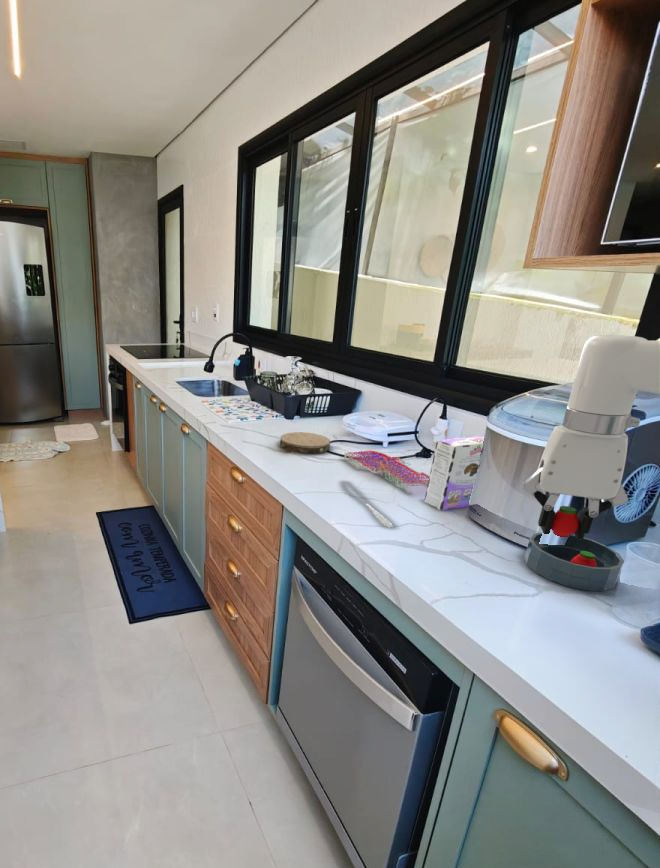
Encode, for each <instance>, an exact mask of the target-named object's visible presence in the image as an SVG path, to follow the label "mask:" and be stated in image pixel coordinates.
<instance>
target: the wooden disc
mask: <svg viewBox="0 0 660 868" xmlns="http://www.w3.org/2000/svg"><path fill="white" fill-rule="evenodd" d="M279 443H280V444H279V448H280V449H281V450H283V451H285V452H287V453H290V454H292V453H297V454H305V455H318V454H324V453H326V452H328V451H329V450H330V446H331V445H330V444H331V440H330V438H328V437H327V436H324V435H323V434H318V433H313V432H303V431H297V432H295V431H293V432H287V433H283V434H282V435H280V439H279Z"/></svg>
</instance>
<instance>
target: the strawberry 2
mask: <svg viewBox="0 0 660 868" xmlns="http://www.w3.org/2000/svg"><path fill="white" fill-rule="evenodd" d="M594 557H595V555H594V554H593V553H591V552H588V551H580V554H578V555H577V556H575V557H574V558H573V559H572V560H571V563H574V564H579V565H584V566H589V567H597V564H596V562H595V559H594Z"/></svg>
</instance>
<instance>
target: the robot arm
mask: <svg viewBox="0 0 660 868" xmlns="http://www.w3.org/2000/svg"><path fill="white" fill-rule="evenodd" d="M638 391H641V392H648V393H652V394H657V395H660V337H659V338H658V339H656V340H648V339H647V338H645V337H642V336H635V335H622V334H620V335H619V334H599V335H593V336H591V337H590V338H588V339H587V340H586V341H585V342H584V345H583V348H582V350H581V354H580V358H579V362H578V365H577V368H576V373H575V377H574V380H573V383H572V388H571V391H570V394H569V398H568V402H567V404H566V405H567V406H566V409H565V413H564V416H563V420H562V424H561V425H555V426H554V428H553V429H552V431H551V433H550V436H549V438H548V440H547V443H546V444H545V447H544V450H543V452H542V455H541V458H540V461H539V464H538V466H537V469H536V471H535V472H533V474H531V476H529V477H528V478H527V479H526V480H524V481H523V482H522V484H521V487H522V489H523V490H525V491H526V492H527V493H528V494H530V495H531V496H533V497H534V498H535V500H536V501H537V502H538V503H539V504H540V505H541V506H542V507H541V510H540V514H539V517H538V521H537V524H538V527H540V528H541V532H543V533H544V534H549V533H550V532H551V531H552V530H551V527H552V523H553V520H554V516H555V513H556V512H555V505H556V504H557V501H558V499H559V497H560V496H561V495H565V496H572V497H579V498H584V505H583V508H582V509H580V510H579V511H578V513H577V517H578V519H579V523H580V524H579V528H578V530H577V531H576V532H575V533H573V535H575V536H576V538H578V539H579V540H583V538H585V535H586V534H587V535H588V534H589V533H590V530H591V527H592V523H593V521H594V518H597V517H598V516H599V514H601V513H604V512H605V511H607V510H610V509H611V508H613V507H616V506H620V505H623V504H627V503H628V502H629V497H628V496H627V493H626V491H625V488H624V486H623V484H622V481H623V480H622V479H623V476H624V471H625V466H626V460H627V454H628V443H629V435H628V434H626V433H627V430H628V429H631V428H638V427H639V426H640V422H641V419H640V418H639V417H634V416H632V414H631V411H632V410H633V409H632V408H633V406H634V403H635V399H636V397H637V394H638ZM538 484H539V487H540V488H538V487H537V486H538ZM542 490H543V491H544V492H543V491H542Z"/></svg>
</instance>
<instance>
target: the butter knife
mask: <svg viewBox="0 0 660 868" xmlns="http://www.w3.org/2000/svg"><path fill="white" fill-rule="evenodd" d="M365 505H366V506H367V507H368V509H369V510H370V512H371V513H372V514H373V515H374V516H375V517H376V518H377V519H378V521H379V522H380V523H381V524H382V525H384V526H385V527H386V528H389V529H390V528H391V529H392V528H394V524H393V523H392V522H391V521H390V520H389V519H387V517H385V516H384V515H383V514H382V513H380V512H379V511H377V509H375V508H374V507H373V506H371V505H370V504H369V503H368V502H367V503H365Z"/></svg>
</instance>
